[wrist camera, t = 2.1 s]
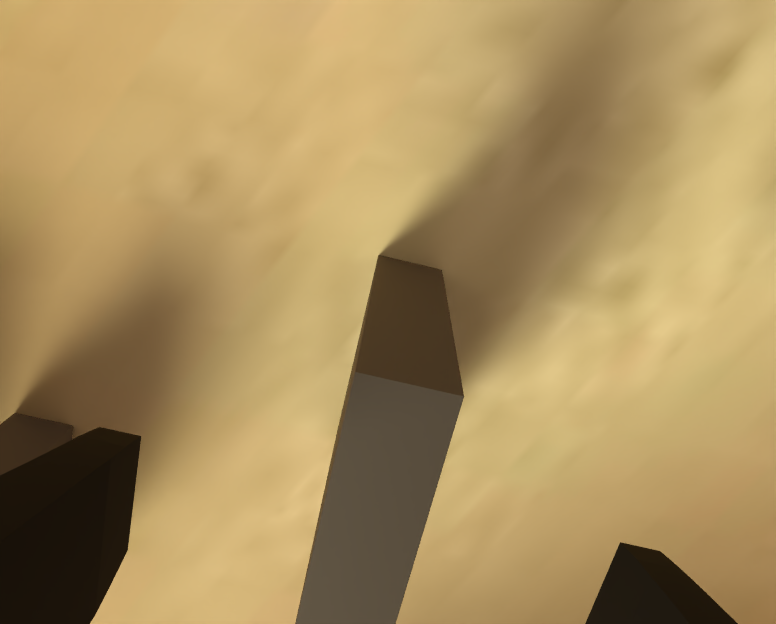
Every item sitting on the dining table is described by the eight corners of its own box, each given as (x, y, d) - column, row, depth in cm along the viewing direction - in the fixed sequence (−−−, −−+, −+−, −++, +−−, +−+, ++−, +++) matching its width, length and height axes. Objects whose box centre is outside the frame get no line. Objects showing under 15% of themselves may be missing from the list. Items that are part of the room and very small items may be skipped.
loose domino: (441, 269, 16) (463, 396, 9) (394, 443, 17) (385, 657, 11) (378, 255, 16) (355, 371, 9) (337, 430, 17) (292, 637, 11)
